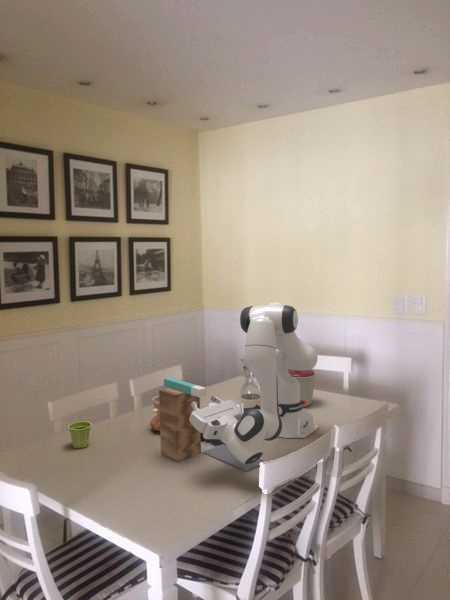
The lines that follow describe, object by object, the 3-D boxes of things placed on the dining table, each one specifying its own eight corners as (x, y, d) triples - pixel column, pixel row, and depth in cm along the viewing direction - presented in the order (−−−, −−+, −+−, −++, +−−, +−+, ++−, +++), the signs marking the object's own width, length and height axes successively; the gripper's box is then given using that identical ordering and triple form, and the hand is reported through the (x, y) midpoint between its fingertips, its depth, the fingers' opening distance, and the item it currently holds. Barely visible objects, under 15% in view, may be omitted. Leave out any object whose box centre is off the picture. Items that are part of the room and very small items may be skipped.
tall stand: (184, 446, 204) (183, 383, 201) (200, 453, 197) (199, 388, 194) (161, 454, 196) (159, 389, 193) (176, 462, 188) (174, 395, 186)
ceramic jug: (166, 438, 212) (166, 405, 211) (141, 431, 220) (141, 400, 219) (192, 426, 227) (192, 396, 226) (168, 420, 235) (168, 391, 234)
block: (169, 384, 200) (169, 377, 200) (206, 395, 184) (205, 387, 184) (163, 386, 198) (163, 378, 198) (199, 397, 182) (199, 389, 182)
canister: (319, 409, 247) (319, 368, 244) (282, 410, 247) (282, 368, 245) (313, 398, 265) (313, 359, 262) (278, 399, 265) (278, 360, 263)
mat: (223, 445, 204) (223, 444, 204) (266, 462, 187) (266, 461, 187) (202, 453, 197) (202, 451, 197) (246, 472, 179) (246, 470, 179)
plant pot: (97, 443, 208) (96, 423, 207) (82, 451, 200) (81, 430, 199) (79, 440, 212) (78, 420, 211) (64, 448, 204) (62, 427, 203)
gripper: (249, 412, 181) (226, 387, 189) (207, 427, 167) (184, 399, 175) (243, 425, 184) (220, 399, 192) (201, 440, 170) (178, 412, 178)
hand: (203, 399), depth 184 cm, fingers open, 8 cm apart
